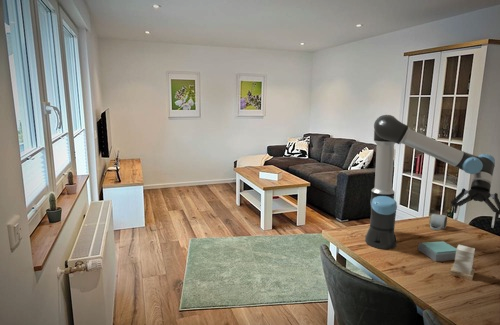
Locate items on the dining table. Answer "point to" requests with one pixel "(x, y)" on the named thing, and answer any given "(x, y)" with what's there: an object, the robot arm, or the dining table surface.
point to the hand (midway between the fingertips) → (473, 222)
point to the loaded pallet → (463, 262)
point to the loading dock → (438, 250)
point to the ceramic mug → (438, 221)
